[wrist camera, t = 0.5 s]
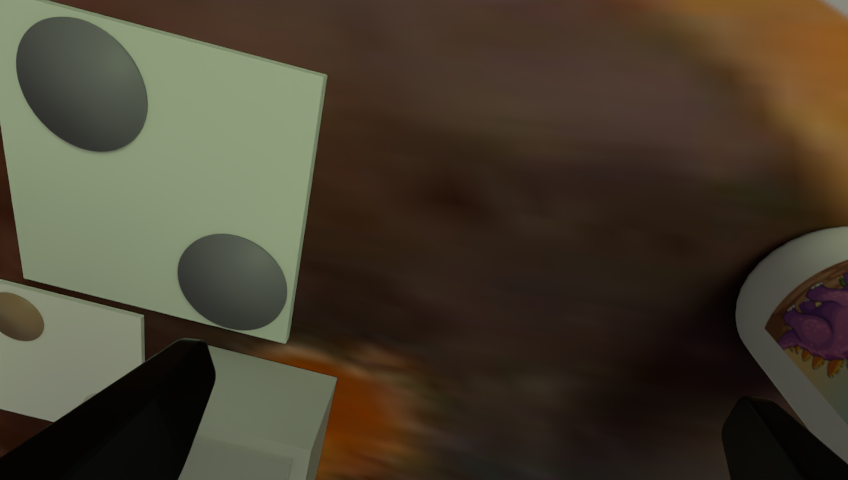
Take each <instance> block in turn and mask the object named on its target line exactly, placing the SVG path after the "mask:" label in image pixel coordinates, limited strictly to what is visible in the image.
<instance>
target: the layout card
mask: <svg viewBox="0 0 848 480" xmlns="http://www.w3.org/2000/svg"><path fill="white" fill-rule="evenodd" d="M144 362H145V342H144V315H142V314H138V313H134V312H130V311H126V310H122V309H118V308H114V307H110V306H106V305H102V304H98V303H94V302H90V301H86V300H82V299H78V298H74V297H70V296H66V295H62V294H58V293H54V292H50V291H46V290H42V289H38V288H34V287H30V286H26V285H22V284H18V283H14V282H10V281H6V280H2V279H0V409H3V410H7V411H11V412H15V413H19V414H23V415H28V416H32V417H36V418H40V419H44V420H48V421H52V422H55V421H56V420H58V419H59V418H61V417H62V416H64V415H65V414H67V413H68V412H70V411H71V410H73V409H74V408H76V407H77V406H79V405H80V404H82V403H83V402H85V401H86V400H88V399H89V398H91V397H92V396H94V395H95V394H97V393H99V392H100V391H102V390H103V389H105V388H106V387H108V386H109V385H111V384H112V383H114V382H115V381H117V380H118V379H120V378H121V377H123V376H124V375H126V374H127V373H129V372H130V371H132V370H133V369H135V368H136V367H138V366H139V365H141V364H142V363H144Z"/></svg>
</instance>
